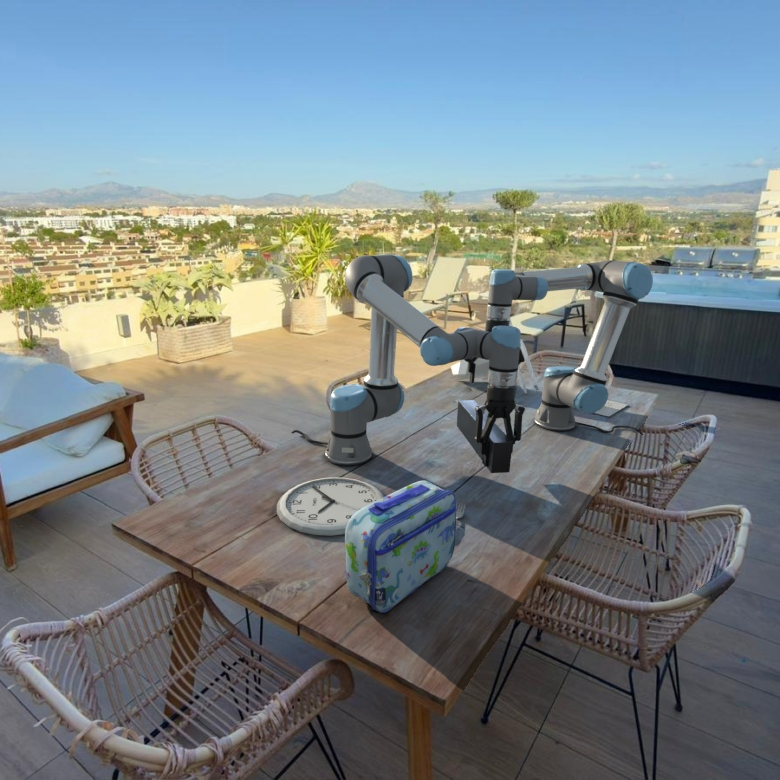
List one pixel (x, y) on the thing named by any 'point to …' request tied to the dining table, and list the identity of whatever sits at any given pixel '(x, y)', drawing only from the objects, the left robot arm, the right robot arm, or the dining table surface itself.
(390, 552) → the lunch box
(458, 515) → the fork
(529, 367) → the white plastic object
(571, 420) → the right robot arm
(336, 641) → the dining table surface
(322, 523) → the wall clock
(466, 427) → the bar
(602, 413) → the invitation card
